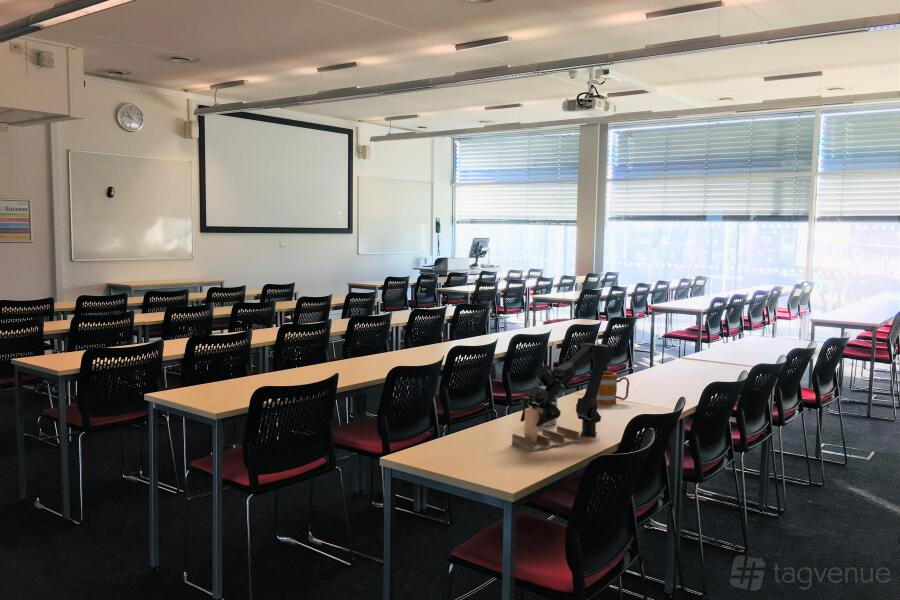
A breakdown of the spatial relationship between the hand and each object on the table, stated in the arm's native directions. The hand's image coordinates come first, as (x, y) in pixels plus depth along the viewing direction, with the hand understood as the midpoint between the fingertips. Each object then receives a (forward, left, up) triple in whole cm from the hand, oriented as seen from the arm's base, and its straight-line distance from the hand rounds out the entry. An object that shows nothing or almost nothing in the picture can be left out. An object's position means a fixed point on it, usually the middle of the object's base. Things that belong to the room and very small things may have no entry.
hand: (528, 423), depth 292 cm
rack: (-7, +6, -9) cm, 13 cm away
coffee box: (-41, +2, -10) cm, 42 cm away
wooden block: (-1, +1, -8) cm, 8 cm away
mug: (-92, +28, -10) cm, 97 cm away
